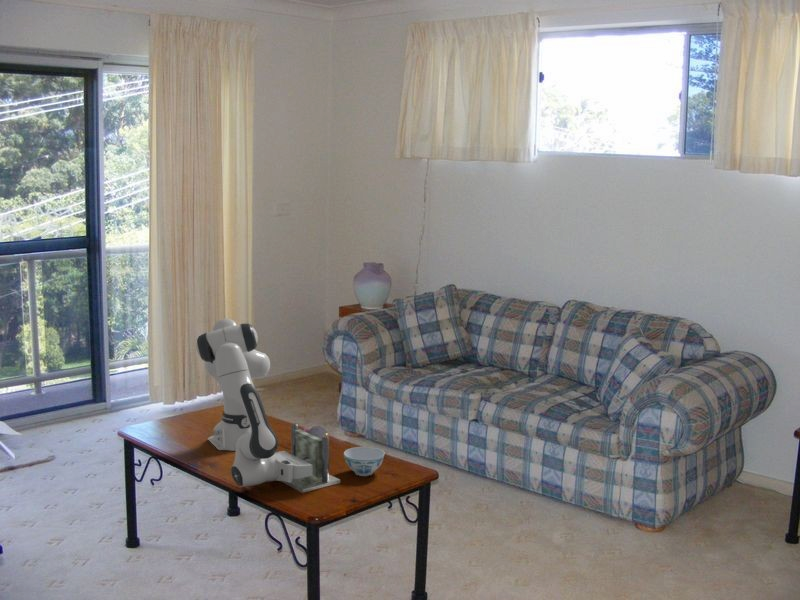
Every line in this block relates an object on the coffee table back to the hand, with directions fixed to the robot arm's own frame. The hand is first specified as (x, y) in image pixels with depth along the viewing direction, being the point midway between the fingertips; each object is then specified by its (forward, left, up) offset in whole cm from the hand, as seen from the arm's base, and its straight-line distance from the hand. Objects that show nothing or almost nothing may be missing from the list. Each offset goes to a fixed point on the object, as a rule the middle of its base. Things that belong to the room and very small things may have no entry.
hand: (309, 459), depth 313 cm
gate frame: (-1, -2, -7) cm, 7 cm away
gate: (-2, +1, -5) cm, 5 cm away
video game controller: (-36, +24, -7) cm, 44 cm away
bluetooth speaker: (-17, +15, -7) cm, 24 cm away
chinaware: (+8, +19, -7) cm, 22 cm away
